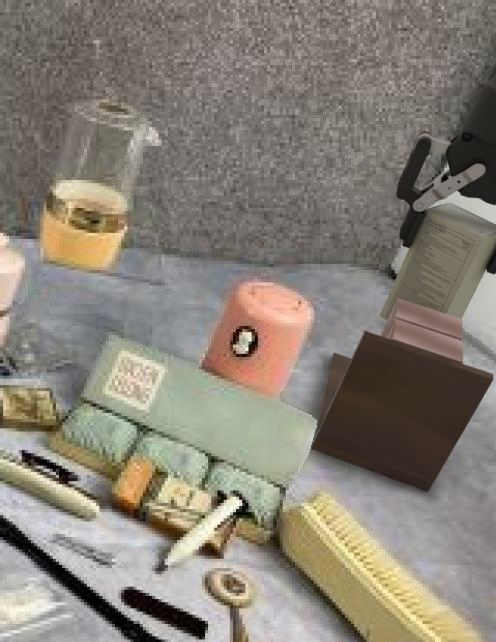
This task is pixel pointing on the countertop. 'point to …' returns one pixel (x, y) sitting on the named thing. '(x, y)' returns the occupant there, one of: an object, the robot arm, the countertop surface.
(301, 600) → the countertop surface
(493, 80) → the robot arm
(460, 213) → the cosmetic box
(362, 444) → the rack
